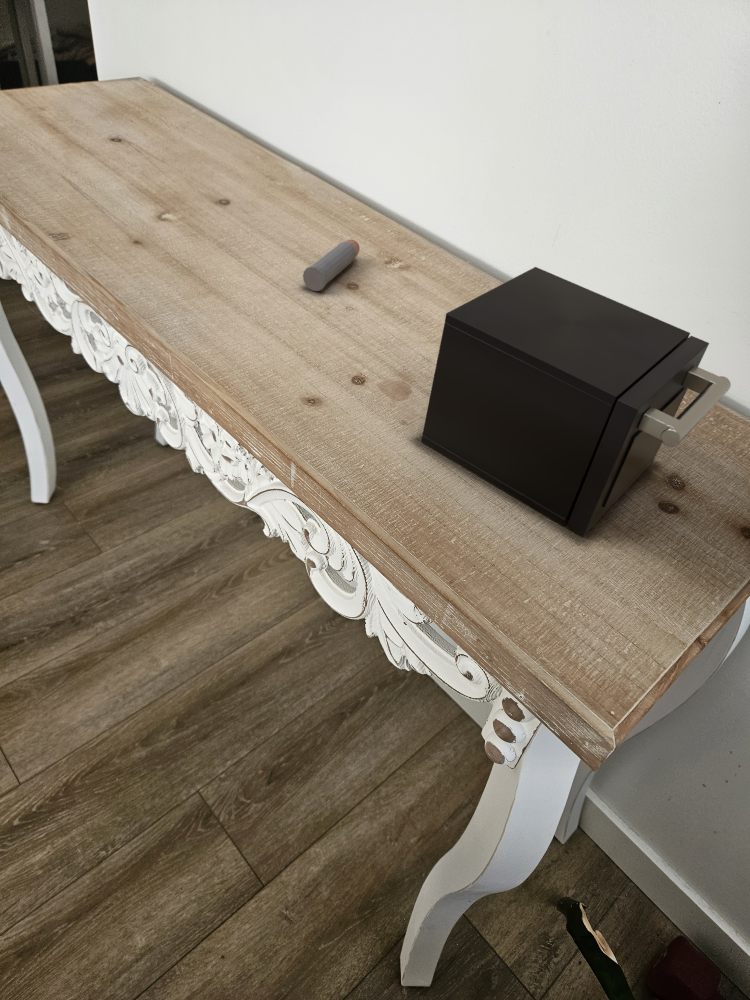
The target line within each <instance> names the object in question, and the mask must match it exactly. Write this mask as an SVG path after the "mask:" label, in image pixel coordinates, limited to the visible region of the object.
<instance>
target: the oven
mask: <svg viewBox="0 0 750 1000" xmlns="http://www.w3.org/2000/svg"><path fill="white" fill-rule="evenodd" d="M690 336H691V332H689V331H687V330H684V329H682V328H680V327H677V326H675V325H673V324H670V323H668V322H665V321H663V320H661V319H658V318H656V317H654V316H652V315H649V314H647V313H644V312H643V311H640V310H638V309H635V308H633V307H631V306H628V305H627V304H624V303H622V302H619V301H617V300H614V299H612V298H610V297H607V296H605V295H602V294H600V293H598V292H595V291H593V290H591V289H589V288H587V287H584V286H582V285H580V284H577V283H575V282H573V281H570V280H568V279H565V278H563V277H561V276H558V275H556V274H553V273H551V272H548V271H547V270H544V269H542V268H539V267H538V266H534V267H532V268H530V269H529V270H526V271H525V272H523V273H521V274H519V275H517V276H515V277H514V278H512V279H509V280H508V281H505V282H504V283H501V284H499V285H497V286H496V287H494V288H491V289H490V290H488V291H486V292H484V293H482V294H480V295H479V296H476V297H475V298H473V299H471V300H469V301H467V302H464V304H462V305H459V306H457V307H456V308H454V309H451V310H450V311H447V312H446V313H445V317H444V323H443V329H442V334H441V339H440V343H439V348H438V354H437V359H436V364H435V369H434V375H433V379H432V386H431V388H430V393H429V400H428V403H427V409H426V415H425V420H424V425H423V429H422V436H421V440H420V443H422V444H424V445H425V446H427V447H429V448H430V449H433V450H434V451H436V452H438V453H439V454H441V455H442V456H444V457H446V458H447V459H449V460H451V461H453V463H455V464H458V465H459V466H461V467H463V468H464V469H465V470H468V471H469V472H472V474H474V475H476V476H478V477H479V478H481V479H482V480H483V481H485V482H487V483H489V484H491V485H492V486H494V487H496V488H498V489H499V490H501V491H503V492H504V493H506V494H508V495H509V496H511V497H512V498H514V499H517V500H518V501H520V502H521V503H523V504H524V505H526V506H528V507H530V508H531V509H532V510H535V511H536V512H538V513H540V514H541V515H543V516H544V517H546V518H548V519H550V520H551V521H553V522H555V523H557V524H558V525H559V526H561V527H564V526H565V525H567V524H568V521H569V519H570V516H571V514H572V511H573V509H574V506H575V504H576V501H577V499H578V496H579V494H580V491H581V489H582V486H583V484H584V481H585V479H586V477H587V474H588V472H589V469H590V467H591V464H592V462H593V459H594V457H595V454H596V452H597V449H598V447H599V444H600V442H601V439H602V437H603V434H604V432H605V429H606V427H607V424H608V422H609V419H610V417H611V414H612V412H613V409H614V407H615V404H616V402H617V400H618V399H619V398H620V397H621V396H622V395H623V394H625V393H626V392H627V391H628V390H629V389H630V388H631V387H633V386H634V385H635V384H636V383H637V382H638V381H639V380H641V379H642V378H643V377H644V376H645V375H646V374H648V373H649V372H650V371H651V370H652V369H653V368H654V367H656V366H657V365H658V364H659V363H660V362H661V361H662V360H664V359H665V358H666V357H667V356H668V355H669V354H670V353H672V352H673V351H674V350H675V349H676V348H677V347H679V346H680V345H681V344H682V343H683V342H684V341H685V340H687V339H688V338H689V337H690Z"/></svg>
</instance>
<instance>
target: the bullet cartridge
mask: <svg viewBox="0 0 750 1000" xmlns="http://www.w3.org/2000/svg"><path fill="white" fill-rule="evenodd" d="M359 253H360V244H359V243H358V241H356V240H355V239H347V240H345V241H342V242H340V243H338V244H337V245H336V246H334V247H333V248H332V249H331V250H330V251H328V252H327V253H326V254H325V255H323V256H322V257H321V258H320V259H318V260H317V261H315V262H314V263H313V264H312V265H309V266H308V267H306V268H305V269H304V270H303V273H302V279H303V282H304V284H305V286H306V287H307V288H308V289H309V290H311V291H313V292H319V291H322V290H323V289H324V288H325V287H326V285H327V284H329V282H331V281H332V280H333V279H334V278H335V277H336V276H337V275H339V274H340V273H341V272H342V271H344V270H345V269H346V268H347V267H348V266H349V265H350V264H351V263H353V262H354V260H355V259H356V258H357V257H358V255H359Z"/></svg>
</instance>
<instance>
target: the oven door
mask: <svg viewBox="0 0 750 1000" xmlns="http://www.w3.org/2000/svg"><path fill="white" fill-rule="evenodd" d="M709 345H710V342H708V341H705V340H703V339H701V338H698V337H695V336H694V335H689V337H688V339H687V340H685V341H684V342H683V343H682V344H681V345H680V346H679V347H677V348H676V349H675V350H674V351H673V352H672V353H670V354H669V355H668V356H667V357H666V358H665V359H664V360H662V361H661V362H660V363H659V364H658V365H657V366H656V367H654V368H653V369H652V370H651V371H650V372H649V373H648V374H646V375H645V376H644V377H643V378H642V379H641V380H639V381H638V382H637V383H636V384H635V385H634V386H633V387H631V388H630V389H629V390H628V391H627V392H626V393H625V394H623V395H622V396H621V397H620V398H619V399H618V400H617V402H616V404H615V407H614V409H613V412H612V414H611V417H610V419H609V422H608V424H607V427H606V429H605V432H604V434H603V437H602V439H601V442H600V444H599V447H598V449H597V452H596V454H595V457H594V459H593V462H592V464H591V467H590V469H589V472H588V474H587V477H586V479H585V481H584V484H583V486H582V489H581V491H580V494H579V496H578V499H577V501H576V504H575V506H574V509H573V511H572V514H571V516H570V519H569V521H568V522H567V523H566V528H567V529H569V530H570V531H572V532H574V533H576V534H578V535H579V536H581V537H585V535H587V534H588V532H589V531H590V530H591V529H592V528H593V527H594V526H595V525H596V523H597V522H599V521H600V519H601V518H602V517H603V516H604V515H605V514H606V513H607V512H608V511H609V510H610V509H611V508H612V506H614V504H616V502H617V501H618V500H619V499H620V498H621V497H622V496H623V495H624V494H625V492H627V490H628V489H629V488H630V487H631V486H632V485H633V484H634V483H635V482H636V481H637V480H638V479H639V478H640V477H641V476H642V475H643V473H644V472H645V471H646V470H647V469H648V468H649V467H650V466H651V465H652V464H653V462H654V460H655V458H656V456H657V454H658V452H659V450H660V448H661V446H662V444H663V445H664V446H666V447H669V448H675V447H678V446H679V445H680V444H681V443H682V442H683V440H684V439H685V438H686V437H687V436H688V435H689V434H690V433H691V432H692V430H694V428H695V427H697V425H698V424H699V423H700V422H701V421H702V420H703V419H704V417H705V416H706V415H708V413H709V412H710V411H711V410H712V409H713V408H714V407H715V406H716V404H718V403H719V401H720V400H721V399H722V398H723V397H724V395H725V394H727V392H729V390H730V389H731V386H732V385H731V384H732V383H731V380H730V379H729V378H728V377H726V376H723V375H717V374H715V373H713V372H710V371H708V370H705V369H703V368H701V367H700V366H699V365H700V364H701V362H702V360H703V357H704V356H705V353H706V351H707V349H708V347H709ZM688 390H690V391H692V392H695V393H696V394H698V395H697V396H696V397H695V398H694V399H693V400H692V401H691V402H690V403H689V404H688V405H687V406H686V408H684V409H683V410H682V411H681V413H680V414H679V415H677V416H676V414H677V412H678V411H679V409H680V406H681V404H682V401H684V400H683V399H684V397H685V396H686V394H687V391H688ZM675 416H676V417H675Z"/></svg>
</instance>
